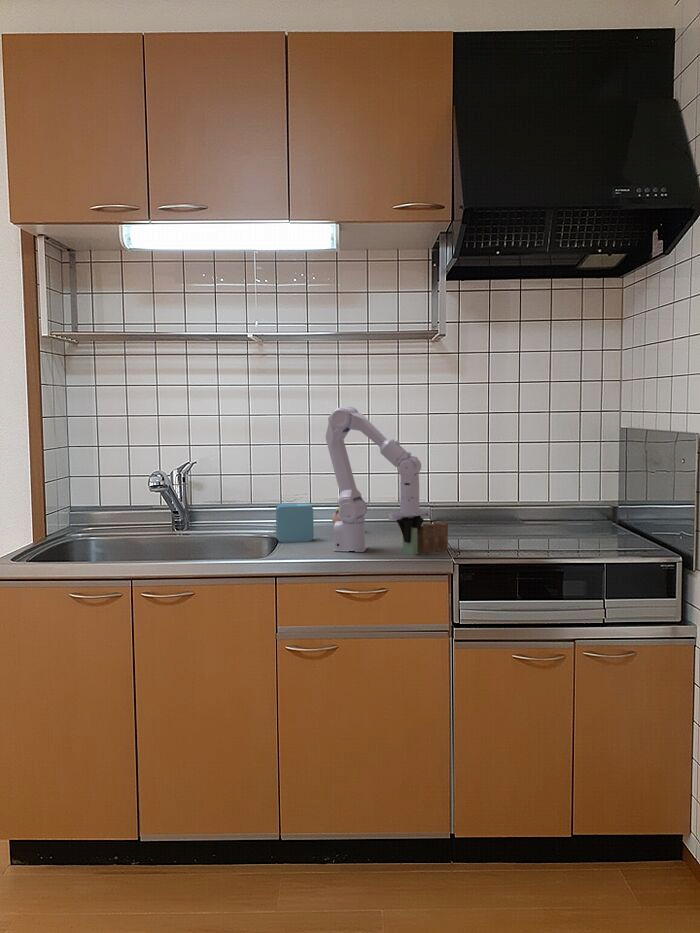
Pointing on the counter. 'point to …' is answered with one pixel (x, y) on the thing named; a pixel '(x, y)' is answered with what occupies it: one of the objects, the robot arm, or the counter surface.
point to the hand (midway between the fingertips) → (410, 541)
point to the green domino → (411, 543)
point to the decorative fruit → (336, 516)
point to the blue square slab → (294, 522)
